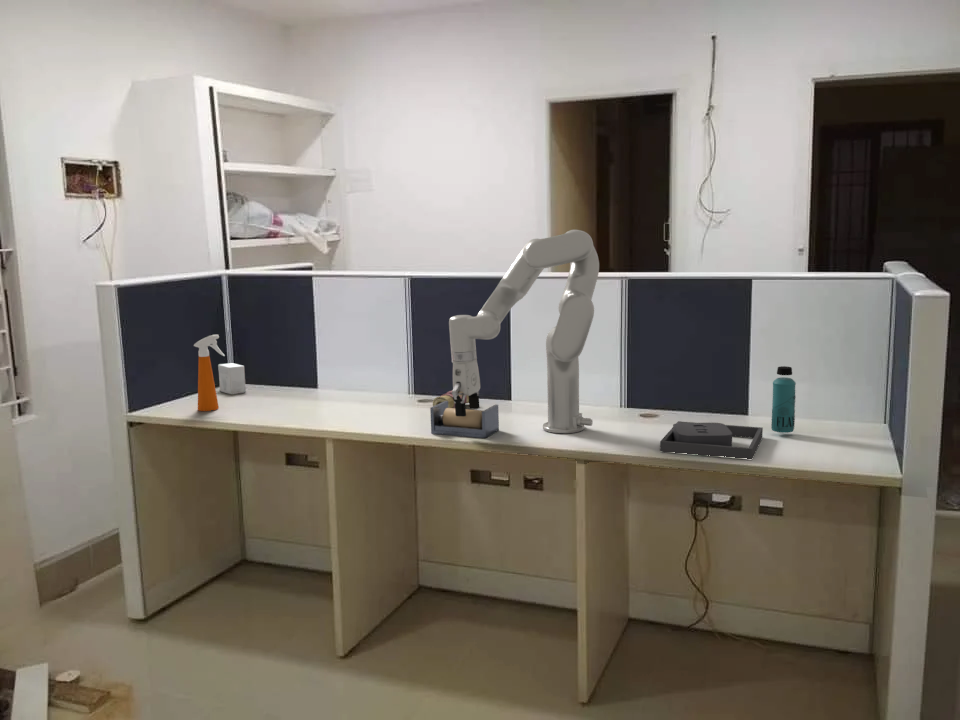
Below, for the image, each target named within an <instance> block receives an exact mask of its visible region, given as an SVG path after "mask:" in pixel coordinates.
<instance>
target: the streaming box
mask: <svg viewBox="0 0 960 720" xmlns="http://www.w3.org/2000/svg"><path fill="white" fill-rule="evenodd" d="M726 425H727V424H724V423H721V422H694V423H677V422H676V423H674V424H673V425H672V428H673V442H685V443H697V444H709V445H721V446H733V436H732V432H731V431H730V430H729V429H728V427H727V426H726Z"/></svg>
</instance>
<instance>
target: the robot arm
mask: <svg viewBox="0 0 960 720" xmlns="http://www.w3.org/2000/svg"><path fill="white" fill-rule="evenodd" d="M598 255H599V254H598V253H597V250H596V247H595V246H594V242H593V239H592V237H591V235H590V234H589V233H588V232H586V231H584V230H580V229H570V230H568V231H566V232H565V233H563V234H559V235H554V236H549V237H544V238H533V239H530V240H528V241H527V242H526V243H525V245H524V246H523V247H522V249H521V250H520V252H519V253H518V255H517V256H516V258H515V259H514V260H513V262H512V263H511V265H510V266H509V268H508V269H507V271H506V273H505V274H504V275H503V276H502V278H501V280H500V281H499V282H498V283H497V286H496V287H495V289H494V290H493V292H492V293H491V294H490V296H489V297H488V299H487V300H486V302H485V303H484V304H483V306H482V308H481V309H480V310H479V312H478V313H477V315H476V316H472V315H469V314H457V315H453V316H451V317H450V318H449V319H448V320H449V321H448V329H449V343H450V355H451V363H452V390H451V391H452V395H453V400H454V403H455V413H456V416H466V404H465V403H464V400H465V396H466V395H467V396H469V403H468V407H469V410H480V389H481V378H480V371H479V366H478V365H479V364H478V360H477V359H478V357H477V347H476V345H477V344H476V343H477V342H476V340H493V339H495V338H496V337H498V335H499V334H500V331H501V323H502V322H503V320H504V319H505V318H506V317H507V315H508V314H509V312H510V311H511V310H512V309H513V307H514V306H515V305H516V304H517V303H518V302H519V301H521V300H522V299H523V298H524V297H525V296H526V295H527V294H528V292H529V291H530V289H531V288H532V286H533V285H534V284H535V282H536V281H537V279H538V278H539V276H540V275H541V274H542V272H543V271H544V269H549V268H553V267H558V266H563V265H565V264H566V265H567V264H569V273H568V276H567V280H566V283H565V285H564V288H563V289H564V290H563V292H562V295H561V297H560V300H559V303H558V312H559V316H558V320H557V323H556V326H554V327H552V328H551V329H550V330H549V331H548V333H547V335H546V338H545V339H546V341H545V351H546V369H547V370H546V371H547V373H546V375H547V383H546V384H547V422H544V423H543V425H542V429H543V431H546V432H549V433H553V434H575V433H579V432H583V430H584V429H585V426H586V427H589V426H590V427H592V426H593V419H591V418H590V417H589V418H588V417H583V413H582V412H580V363H579V362H580V361H579V360H580V359H579V357H580V355H581V354H582V352H583V350H584V347H585V345H586V342H587V338H588V336H589V333H590V330H591V326H592V322H593V320H594V316H595V306H594V302H593V300H592V299H593V295H594V291H595V288H596V284H597V282H598V281H597V280H598V277H599V272H600V260H599V256H598ZM470 395H471V396H470ZM460 396H462V398H460Z"/></svg>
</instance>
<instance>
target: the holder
mask: <svg viewBox="0 0 960 720" xmlns="http://www.w3.org/2000/svg"><path fill="white" fill-rule="evenodd" d="M446 408H448V401H444V402H442V403H439V404H437V405H435V406H433V405H432V406H431V407H429V409H430V430H431V431H430V433H431V434H434V435H443V436H444V435H445V436H452V437H453V436H454V437H467V438H475V439H476V438H478V439H487V438H489V437H490V436H492V435H493V434H495V433H497V432H498V431H500V420H499V419H500V418H499V404H494V405H491V406H489V407H488V408H486V409H484V410H482V429H478V428H467V427H455V426H444V424H443V413H444V411H445V409H446Z"/></svg>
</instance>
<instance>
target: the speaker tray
mask: <svg viewBox="0 0 960 720" xmlns="http://www.w3.org/2000/svg"><path fill="white" fill-rule="evenodd" d="M676 423H695V422H693V421H677V422H676ZM725 425H726V426H727V427H728V429H729V430H730V431H731V432H732V437H735V436H742V437H741V438H748V437H752V438H751V439H752V440H751V442H750V444H749V446H748V447H743V446H733V445H732V446H721V445H709V444H697V443H685V442H673V427H672V428H671V429H669V431H668V432H667V433H666V434H665V435H664V437H662V438H661V440H660V443H659V452H660V451H663V452H662V453H665V452H675V453H674V454H676V453H687V454H698V455H708V456H707V457H709V455H710V456H724V457H725V456H726V457H735V458H747V459H752V458H754V457H755V455H754V454H756V452H757V450H758V448H759V446H758V445H760V443H761V441H762V440H761V439H763V431H764V430H763V429H764V428H763V427H762V426H761V427H759V426H746V425H745V426H744V425H735V424H734V425H731V424H725ZM757 447H758V448H757ZM755 451H756V452H755ZM687 454H686V455H687ZM698 455H697V456H698ZM753 456H754V457H753ZM752 460H753V459H752Z"/></svg>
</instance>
